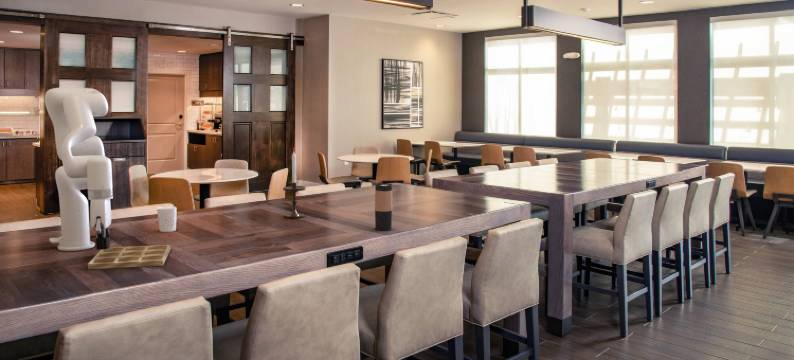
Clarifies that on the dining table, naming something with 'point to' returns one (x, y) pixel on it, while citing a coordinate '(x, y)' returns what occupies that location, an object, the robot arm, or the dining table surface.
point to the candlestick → (294, 189)
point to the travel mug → (383, 207)
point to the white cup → (167, 218)
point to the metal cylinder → (108, 242)
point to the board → (130, 257)
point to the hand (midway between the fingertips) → (103, 247)
